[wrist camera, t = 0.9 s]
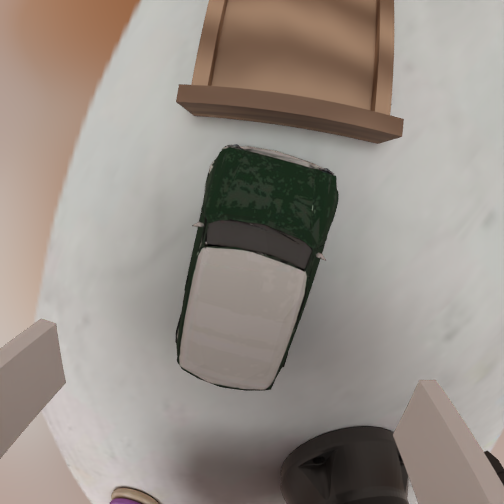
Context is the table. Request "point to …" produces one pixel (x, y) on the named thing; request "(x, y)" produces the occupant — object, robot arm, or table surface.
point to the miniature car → (252, 265)
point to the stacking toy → (130, 497)
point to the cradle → (298, 66)
